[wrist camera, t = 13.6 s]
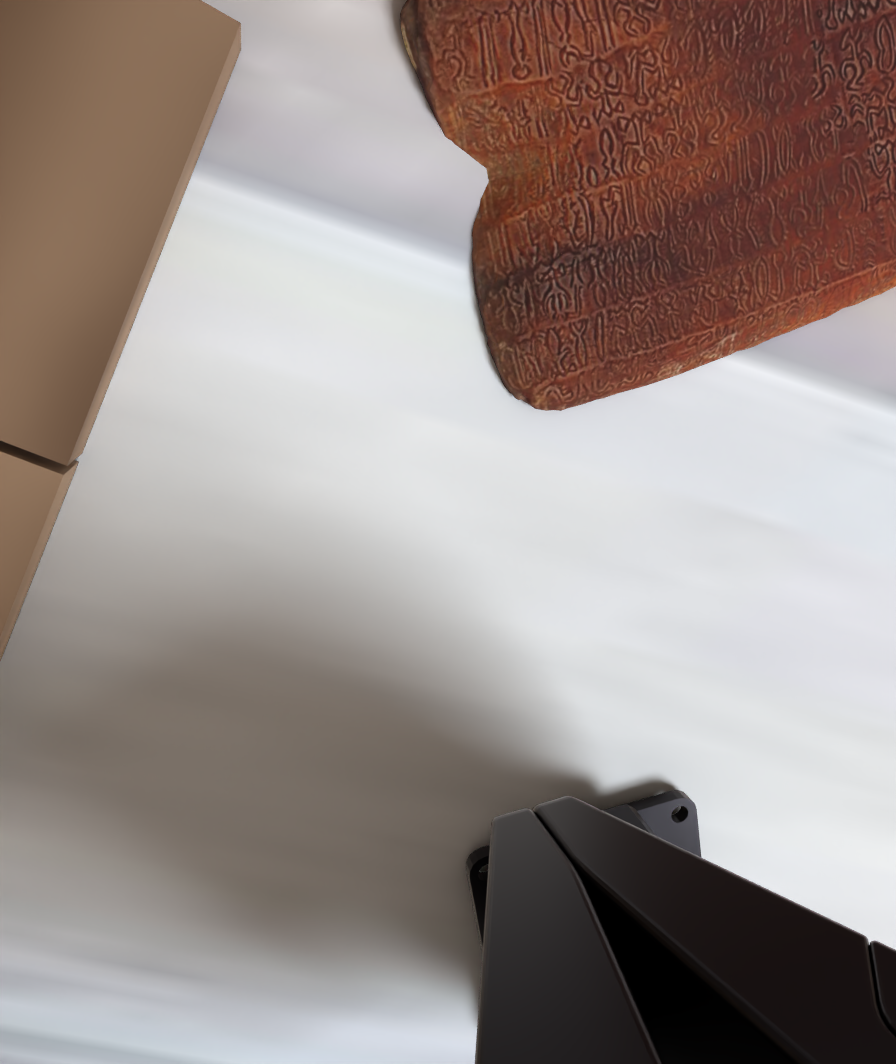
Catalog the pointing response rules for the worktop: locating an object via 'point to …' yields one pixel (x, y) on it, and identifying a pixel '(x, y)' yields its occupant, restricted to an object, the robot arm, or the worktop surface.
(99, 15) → the weathered wooden board
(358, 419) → the worktop surface
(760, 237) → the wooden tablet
